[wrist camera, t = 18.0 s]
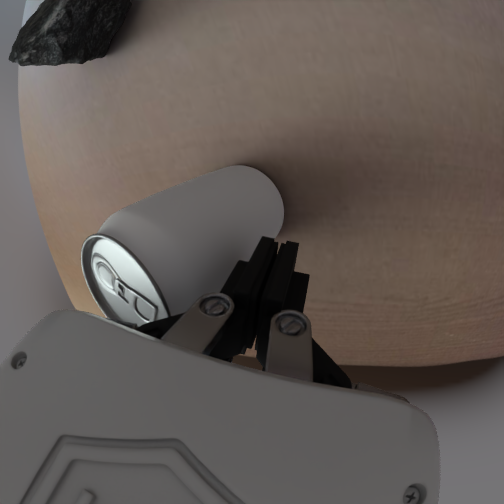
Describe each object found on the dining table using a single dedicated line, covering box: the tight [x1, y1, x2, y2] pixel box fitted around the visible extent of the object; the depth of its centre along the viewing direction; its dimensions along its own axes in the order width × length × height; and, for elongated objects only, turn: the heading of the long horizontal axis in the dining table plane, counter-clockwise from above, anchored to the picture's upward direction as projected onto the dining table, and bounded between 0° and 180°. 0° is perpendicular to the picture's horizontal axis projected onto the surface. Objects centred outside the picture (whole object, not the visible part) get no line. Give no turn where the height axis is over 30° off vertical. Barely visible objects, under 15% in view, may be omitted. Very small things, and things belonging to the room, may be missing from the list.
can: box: [81, 165, 284, 327], centre depth 15 cm, size 6×6×12 cm
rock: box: [9, 0, 132, 66], centre depth 10 cm, size 8×7×10 cm
